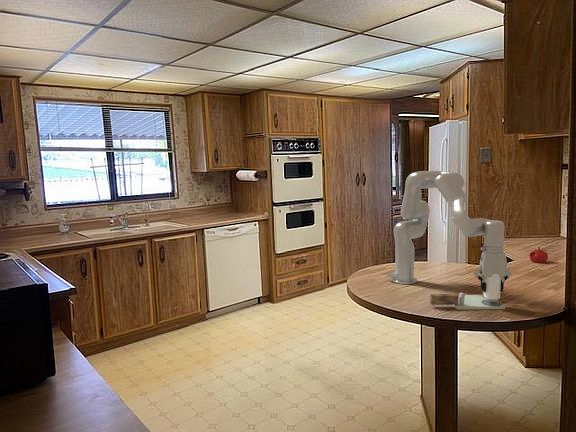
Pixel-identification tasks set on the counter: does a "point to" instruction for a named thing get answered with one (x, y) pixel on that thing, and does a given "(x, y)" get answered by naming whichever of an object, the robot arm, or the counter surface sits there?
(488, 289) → the can
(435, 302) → the leg
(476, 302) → the board
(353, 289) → the counter surface
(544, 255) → the pomegranate
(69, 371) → the counter surface
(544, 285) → the counter surface
